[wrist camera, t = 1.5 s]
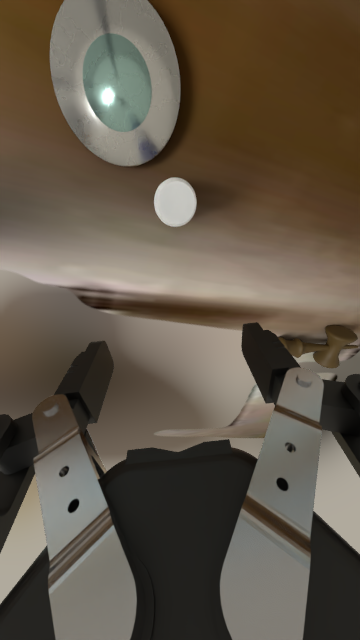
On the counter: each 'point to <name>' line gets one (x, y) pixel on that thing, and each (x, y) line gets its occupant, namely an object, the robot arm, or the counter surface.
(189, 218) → the pill bottle
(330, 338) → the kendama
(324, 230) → the counter surface
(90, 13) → the dish
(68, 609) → the robot arm
